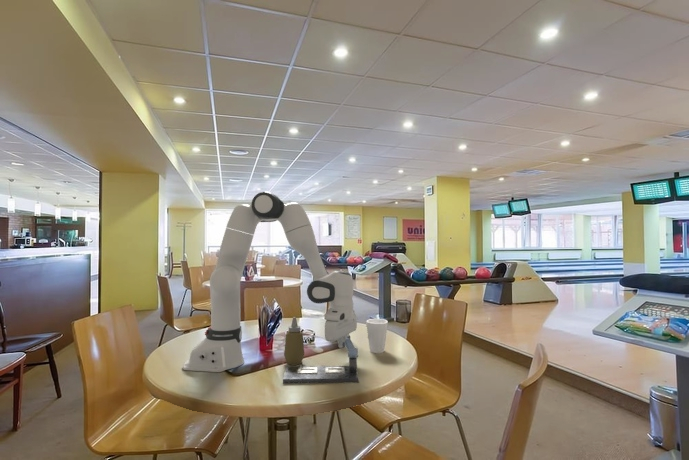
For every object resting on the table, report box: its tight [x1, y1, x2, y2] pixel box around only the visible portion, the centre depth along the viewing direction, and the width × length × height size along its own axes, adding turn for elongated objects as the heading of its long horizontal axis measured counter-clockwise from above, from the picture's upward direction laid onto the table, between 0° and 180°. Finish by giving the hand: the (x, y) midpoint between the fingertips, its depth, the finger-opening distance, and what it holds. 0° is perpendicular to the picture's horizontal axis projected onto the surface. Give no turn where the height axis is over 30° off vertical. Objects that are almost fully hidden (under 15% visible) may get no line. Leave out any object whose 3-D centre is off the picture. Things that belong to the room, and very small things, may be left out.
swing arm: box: [344, 334, 359, 358], centre depth 141 cm, size 21×4×3 cm, turn 8°
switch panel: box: [282, 357, 360, 384], centre depth 131 cm, size 26×12×6 cm, turn 93°
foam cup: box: [365, 318, 389, 354], centre depth 160 cm, size 10×9×13 cm
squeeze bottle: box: [283, 316, 305, 366], centre depth 144 cm, size 8×8×18 cm
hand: (341, 347), depth 142 cm, fingers closed
